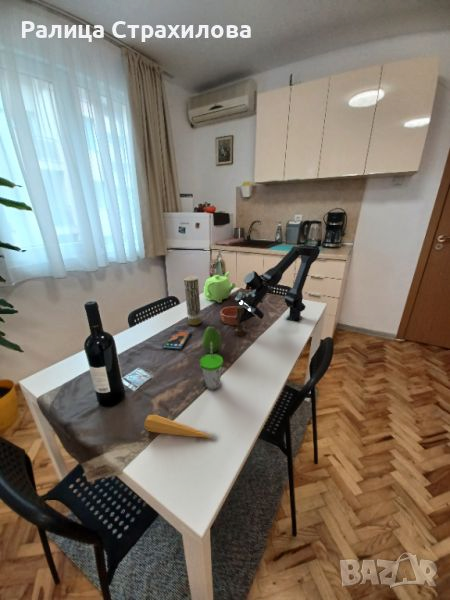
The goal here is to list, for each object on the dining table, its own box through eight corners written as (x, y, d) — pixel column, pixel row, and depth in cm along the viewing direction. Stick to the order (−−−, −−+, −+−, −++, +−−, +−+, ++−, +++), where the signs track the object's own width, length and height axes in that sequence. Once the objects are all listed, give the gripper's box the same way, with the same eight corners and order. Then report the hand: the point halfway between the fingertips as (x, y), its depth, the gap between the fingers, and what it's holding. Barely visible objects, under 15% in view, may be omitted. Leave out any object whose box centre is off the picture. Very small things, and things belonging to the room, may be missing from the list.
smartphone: (162, 346, 104) (175, 329, 118) (163, 349, 105) (175, 331, 118) (180, 347, 103) (191, 329, 116) (180, 350, 103) (191, 332, 117)
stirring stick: (238, 330, 118) (238, 304, 112) (246, 332, 115) (246, 306, 110) (233, 334, 114) (233, 307, 109) (241, 336, 112) (241, 309, 107)
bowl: (229, 312, 137) (229, 304, 135) (249, 318, 130) (249, 309, 128) (215, 321, 127) (215, 313, 125) (236, 328, 120) (236, 319, 118)
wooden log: (186, 324, 125) (181, 279, 115) (192, 319, 130) (188, 275, 121) (197, 326, 122) (193, 280, 113) (203, 321, 128) (200, 276, 118)
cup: (215, 396, 78) (213, 358, 72) (197, 387, 82) (193, 351, 76) (228, 382, 84) (227, 346, 78) (210, 374, 88) (207, 339, 82)
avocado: (207, 358, 97) (205, 332, 92) (200, 348, 104) (198, 324, 99) (224, 353, 100) (223, 328, 96) (217, 344, 107) (216, 320, 102)
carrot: (144, 432, 67) (140, 427, 64) (151, 415, 70) (147, 410, 67) (212, 449, 64) (212, 444, 61) (216, 431, 67) (216, 426, 64)
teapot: (226, 308, 142) (225, 283, 136) (198, 301, 153) (196, 278, 147) (246, 295, 161) (246, 272, 155) (220, 290, 173) (219, 268, 167)
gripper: (238, 279, 115) (218, 305, 115) (258, 291, 99) (235, 320, 99) (251, 292, 121) (232, 316, 121) (273, 305, 105) (251, 332, 105)
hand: (237, 320), depth 112 cm, fingers closed on stirring stick, 3 cm apart
